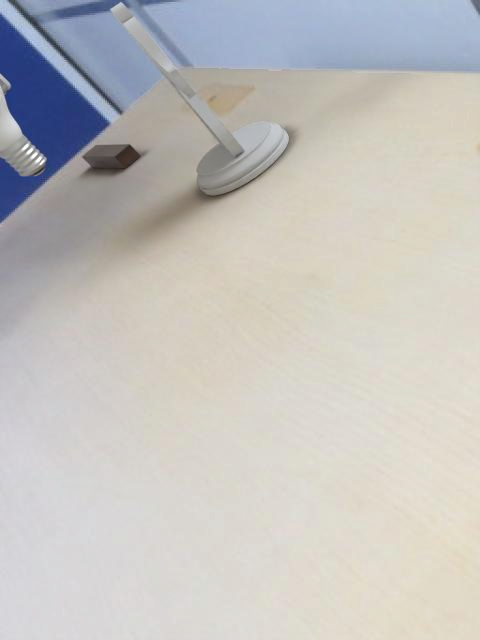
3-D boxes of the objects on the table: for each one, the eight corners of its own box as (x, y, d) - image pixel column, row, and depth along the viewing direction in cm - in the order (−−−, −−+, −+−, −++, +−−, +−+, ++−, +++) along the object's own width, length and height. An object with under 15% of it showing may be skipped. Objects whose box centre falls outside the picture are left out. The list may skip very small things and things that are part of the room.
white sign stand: (215, 206, 68) (72, 47, 58) (194, 181, 75) (63, 33, 64) (301, 144, 70) (178, -23, 59) (274, 124, 76) (158, -30, 66)
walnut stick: (141, 155, 88) (129, 143, 87) (125, 168, 87) (114, 156, 86) (106, 155, 94) (96, 144, 93) (92, 167, 93) (81, 156, 92)
